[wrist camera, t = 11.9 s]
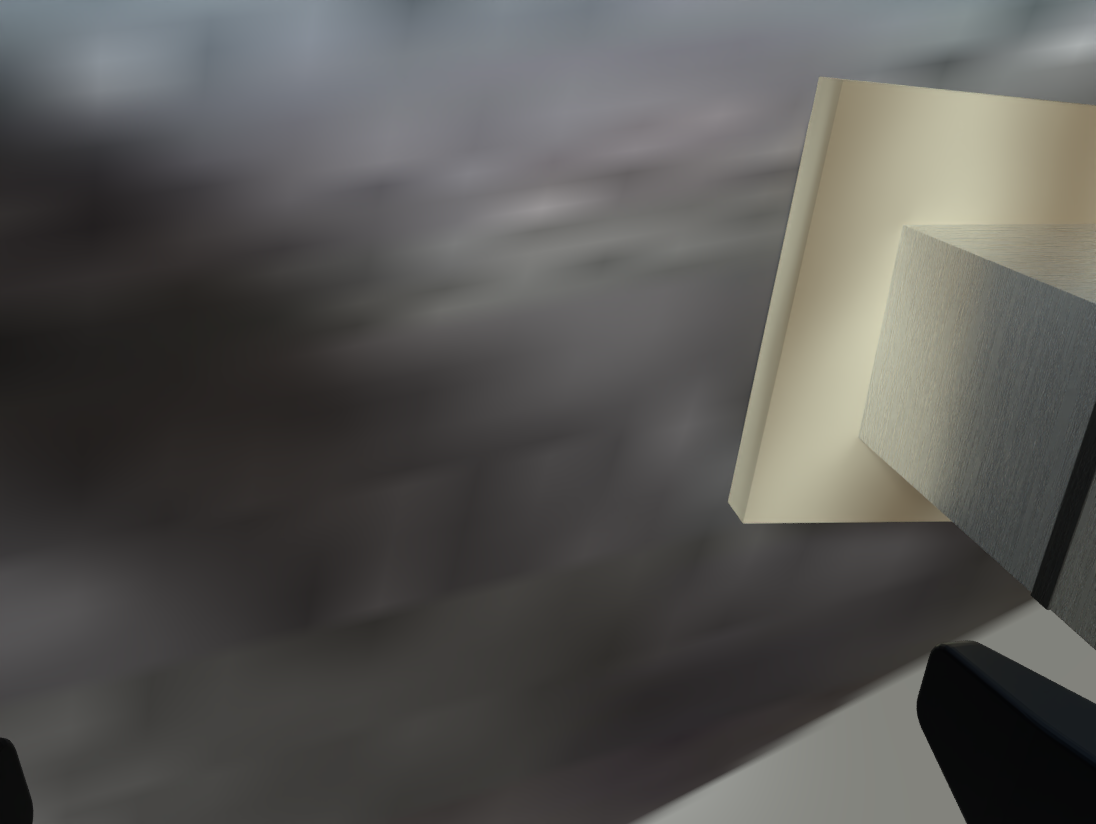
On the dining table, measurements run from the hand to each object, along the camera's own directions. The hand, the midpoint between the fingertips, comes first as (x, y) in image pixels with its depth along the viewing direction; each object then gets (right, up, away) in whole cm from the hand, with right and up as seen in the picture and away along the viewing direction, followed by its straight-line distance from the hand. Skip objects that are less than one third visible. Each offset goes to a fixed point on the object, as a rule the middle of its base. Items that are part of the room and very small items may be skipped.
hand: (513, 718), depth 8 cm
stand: (+10, +6, +14) cm, 18 cm away
